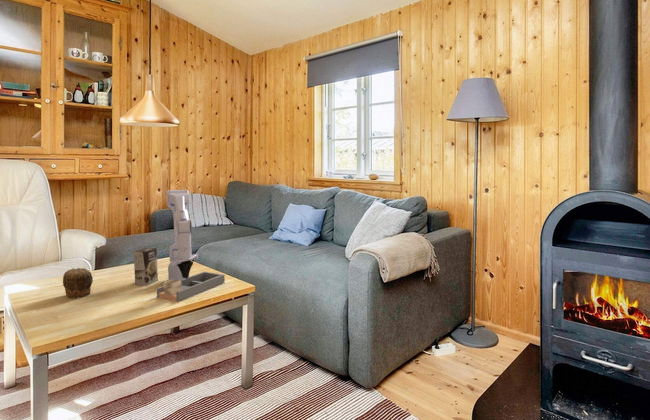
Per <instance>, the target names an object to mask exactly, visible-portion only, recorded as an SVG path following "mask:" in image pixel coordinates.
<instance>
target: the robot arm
mask: <svg viewBox="0 0 650 420" xmlns="http://www.w3.org/2000/svg"><path fill="white" fill-rule="evenodd" d="M189 201H190V194H189V190H188V189H167V190H166V205H167V208H168V209H171V211H172V215H173V229H174V243H172V244H171V245H170V246H169V253H168V255H169V262H170V263H169V264H168V267H167V274H168V276H167V277H168V279H167V280H166V281H169V280H172V279H173V280H182V279H184V278H188V277H190V272H191V269H192V267H193V265H194V261H193V260H195V259H199V254H198V253H193V254H192V233H193V224H192V220H191V218H190V217H189V211H188V210H187V209H186V208H187V207H188V206H189Z"/></svg>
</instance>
